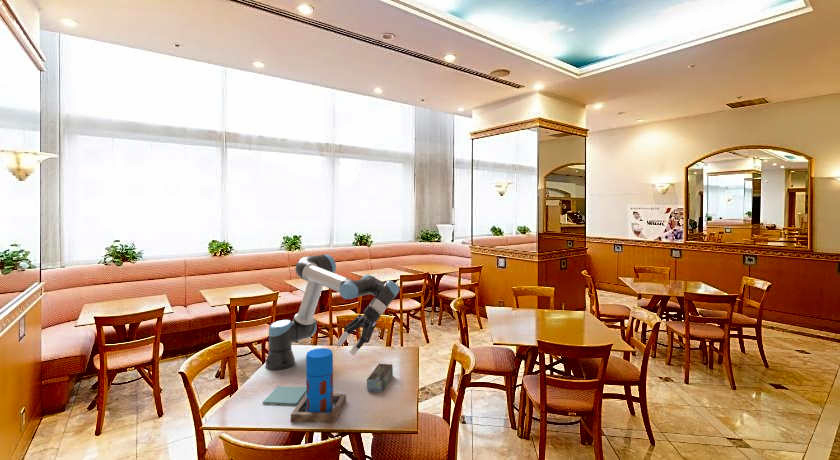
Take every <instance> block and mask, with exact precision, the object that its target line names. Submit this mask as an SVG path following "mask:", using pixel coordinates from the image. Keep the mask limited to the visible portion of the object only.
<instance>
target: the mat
mask: <svg viewBox="0 0 840 460" xmlns="http://www.w3.org/2000/svg"><path fill="white" fill-rule="evenodd" d="M305 394H306V386H281V385H279V386H278V385H277V386H276V388H275V387H274V390H273V391H271V392H270V394H269V395H268V396H267V397H266V398H265V399H264V400H263V401H262V405H271V404H280V405H279V406H297V405H298V404H299V402H300V401H301V400H302V398H303V397H304V396H305Z"/></svg>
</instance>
